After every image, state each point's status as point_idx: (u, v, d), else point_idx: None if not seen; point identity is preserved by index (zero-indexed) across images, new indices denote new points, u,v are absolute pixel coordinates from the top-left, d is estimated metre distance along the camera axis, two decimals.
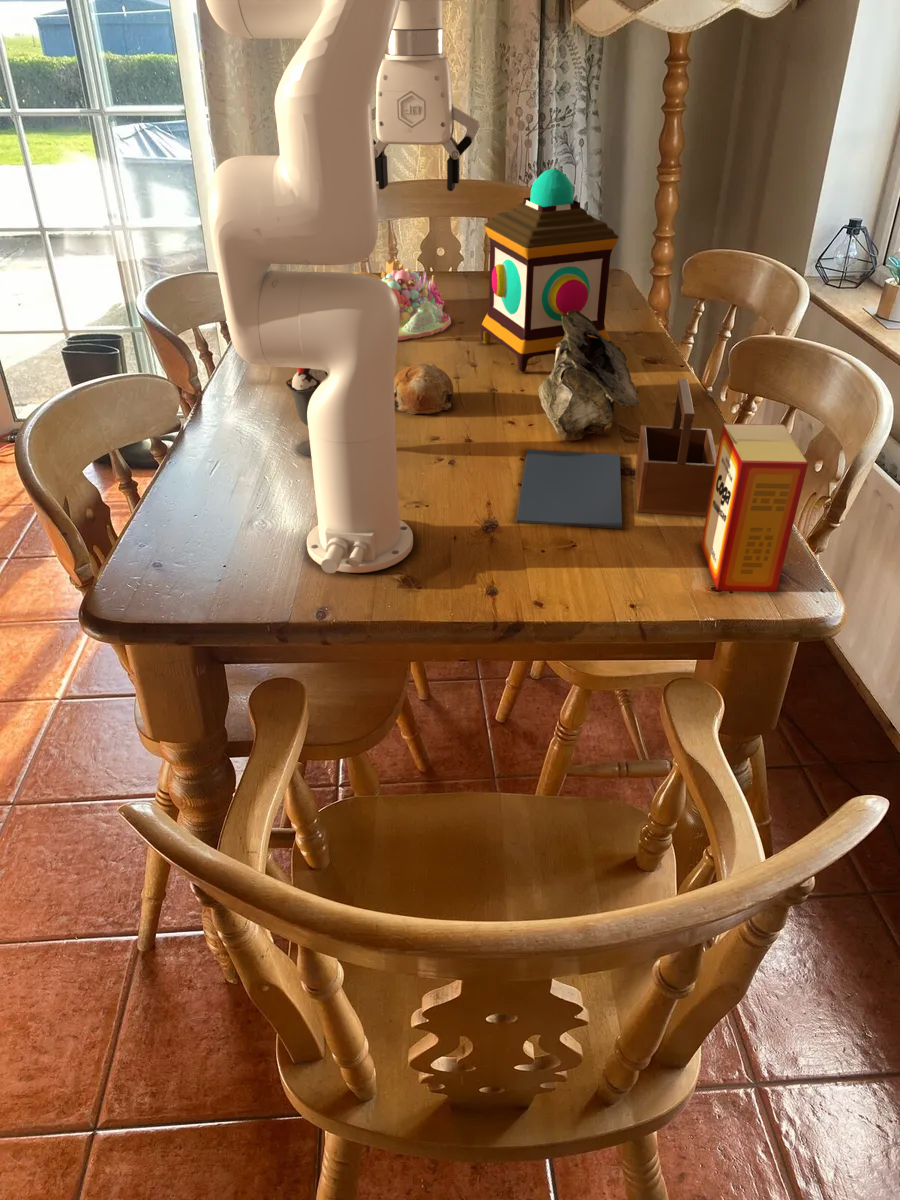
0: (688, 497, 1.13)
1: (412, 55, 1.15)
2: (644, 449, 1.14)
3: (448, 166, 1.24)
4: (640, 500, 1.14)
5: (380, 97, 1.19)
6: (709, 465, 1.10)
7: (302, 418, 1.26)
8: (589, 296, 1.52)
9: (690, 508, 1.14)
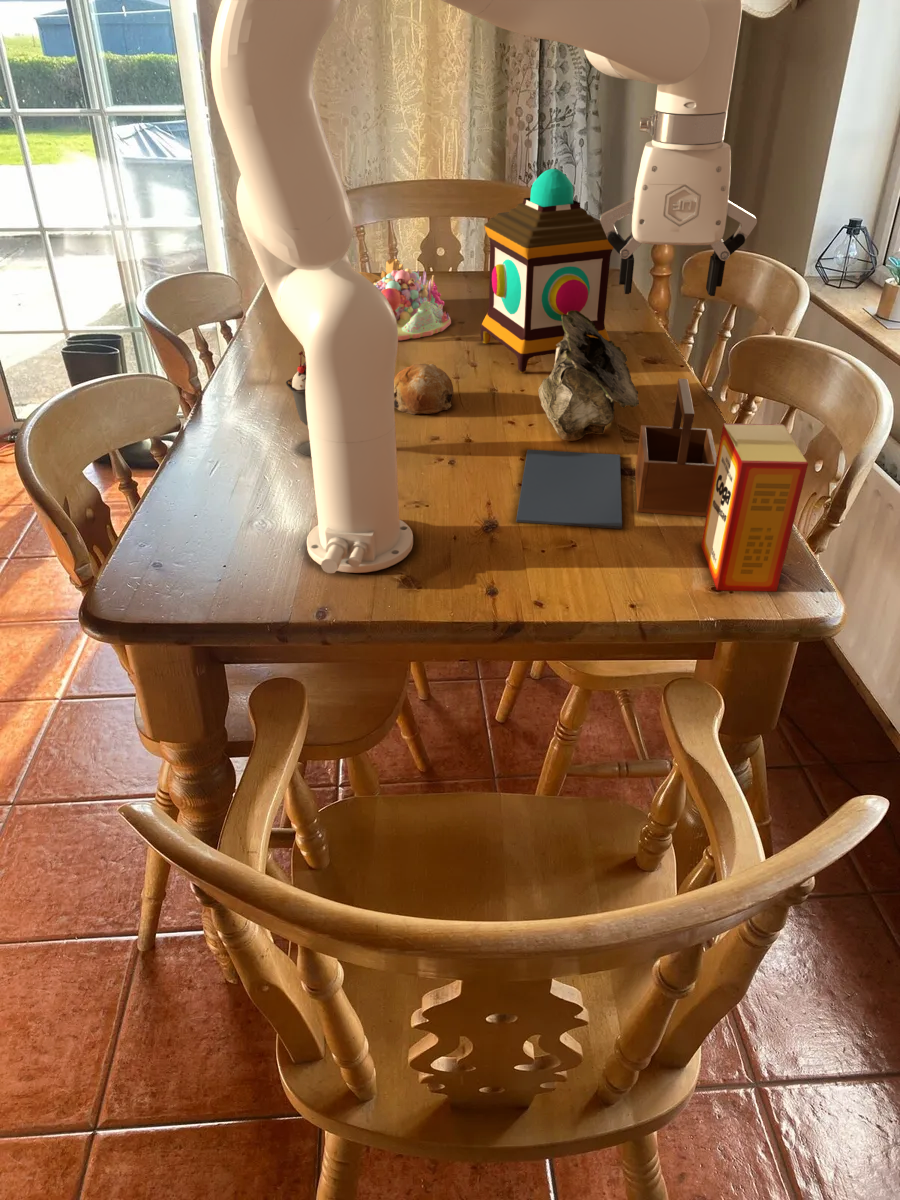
0: (688, 497, 1.13)
1: (695, 144, 0.95)
2: (644, 449, 1.14)
3: (714, 268, 1.03)
4: (640, 500, 1.14)
5: (644, 191, 0.99)
6: (709, 465, 1.10)
7: (302, 418, 1.26)
8: (589, 296, 1.52)
9: (690, 508, 1.14)
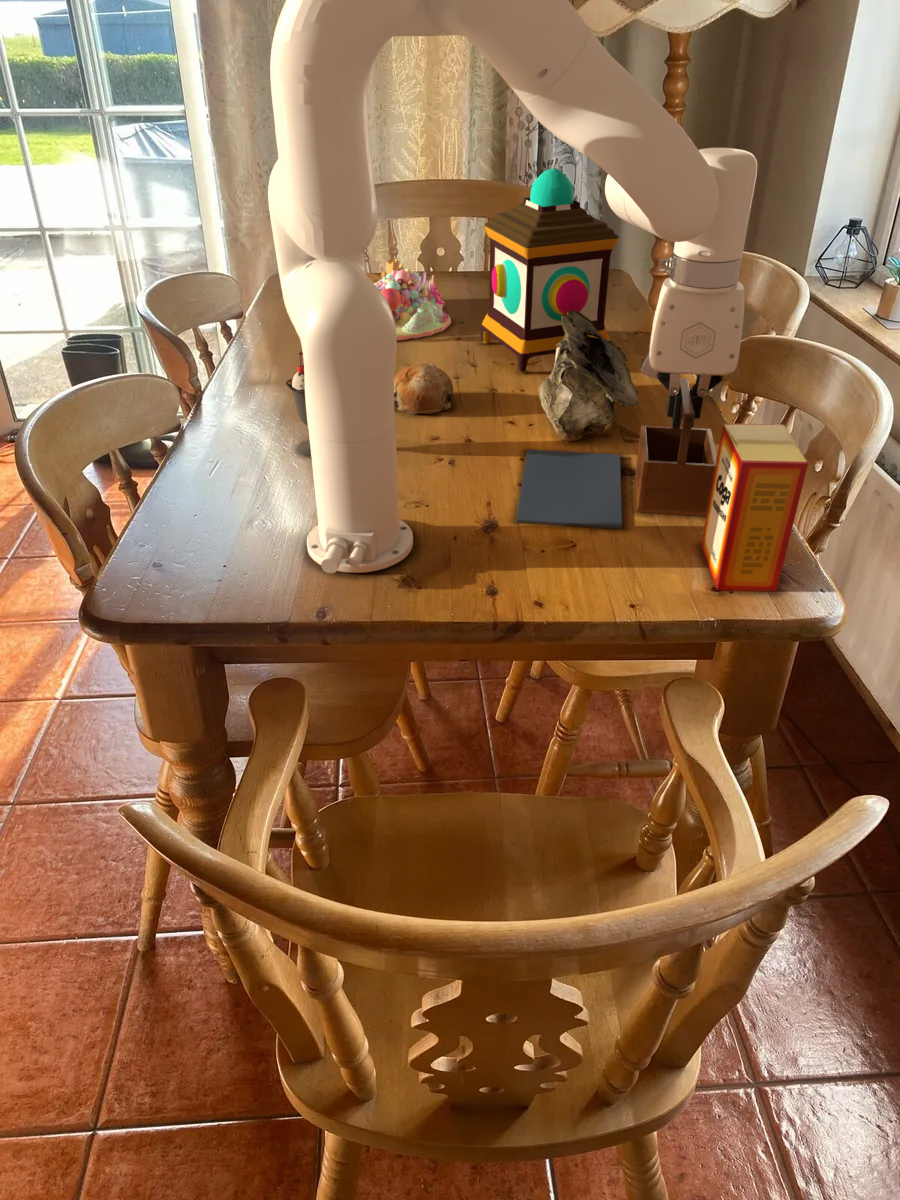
0: (688, 497, 1.13)
1: (710, 288, 1.00)
2: (644, 449, 1.14)
3: None
4: (640, 500, 1.14)
5: (661, 326, 1.04)
6: (709, 465, 1.10)
7: (302, 418, 1.26)
8: (589, 296, 1.52)
9: (690, 508, 1.14)
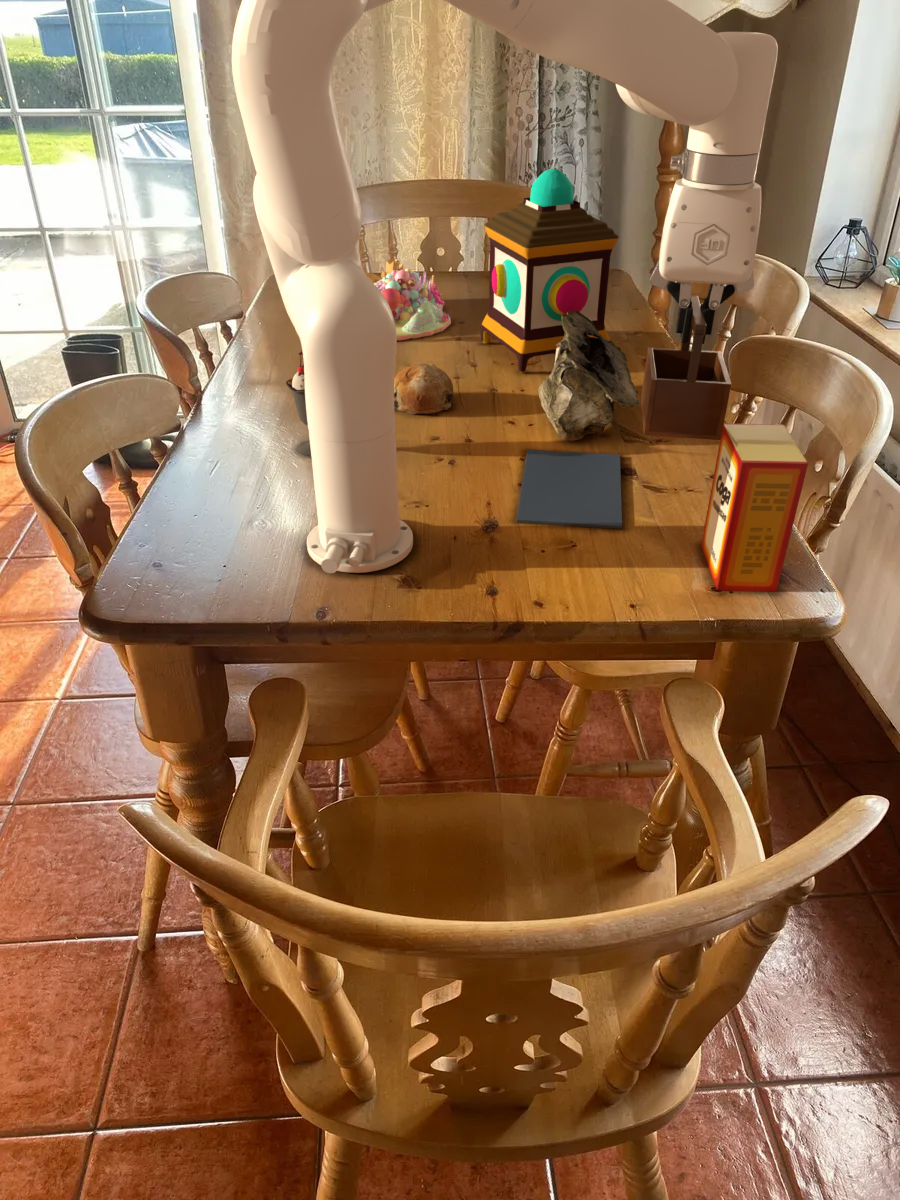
0: (698, 419, 1.07)
1: (726, 184, 0.94)
2: (652, 368, 1.08)
3: (704, 317, 1.04)
4: (647, 422, 1.08)
5: (673, 229, 0.98)
6: (721, 383, 1.04)
7: (302, 418, 1.26)
8: (589, 296, 1.52)
9: (700, 431, 1.07)
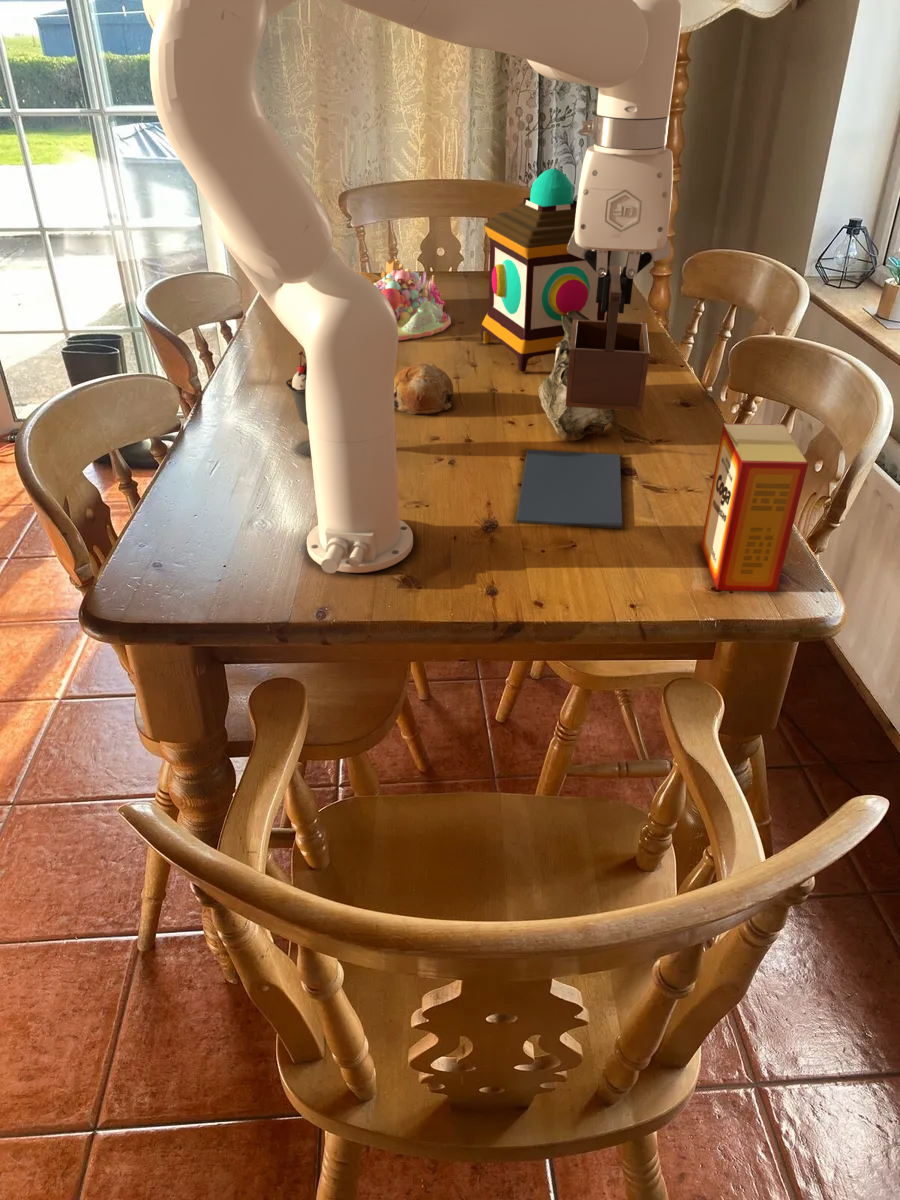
0: (618, 389, 1.06)
1: (634, 149, 0.93)
2: (572, 338, 1.07)
3: (622, 286, 1.03)
4: (567, 393, 1.07)
5: (585, 195, 0.97)
6: (639, 352, 1.03)
7: (302, 418, 1.26)
8: (589, 296, 1.52)
9: (620, 401, 1.07)
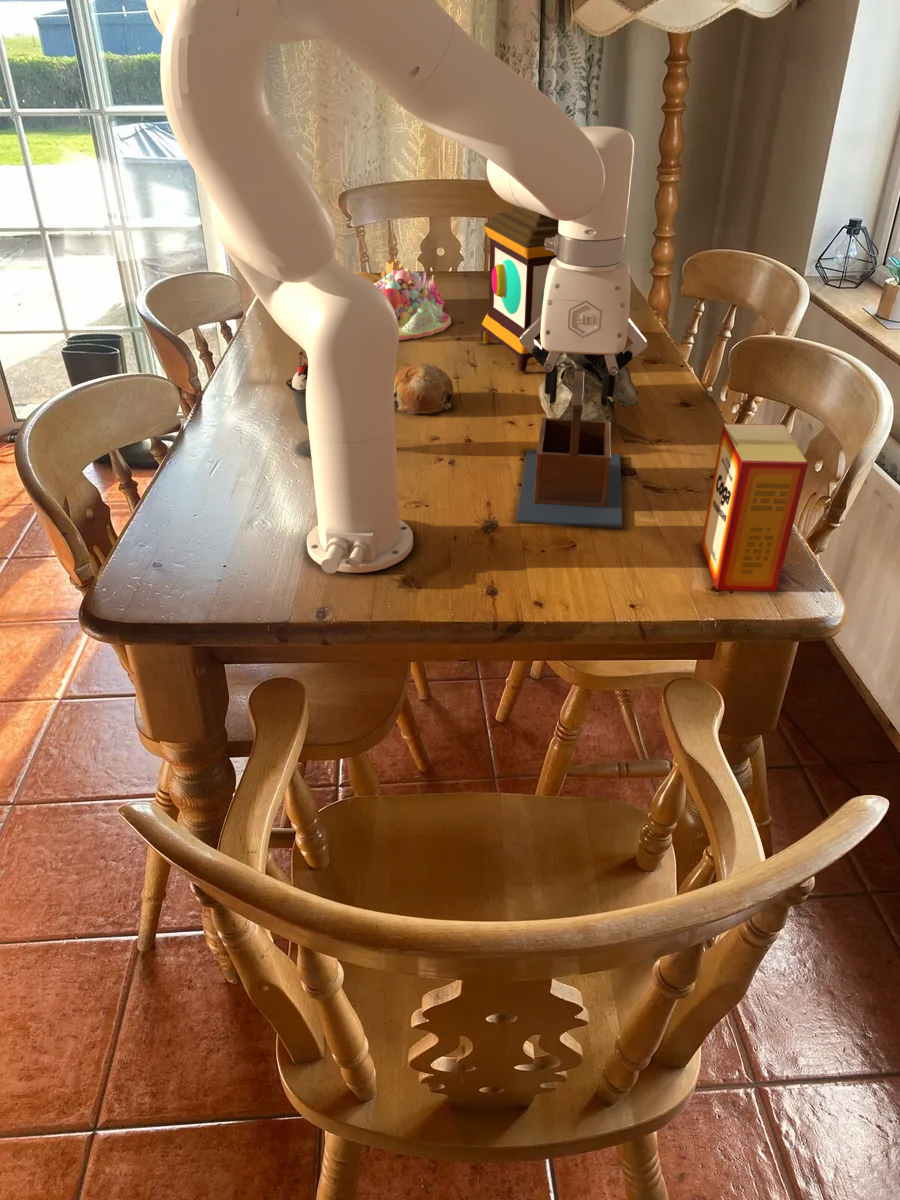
0: (582, 488, 1.14)
1: (593, 266, 1.00)
2: (540, 441, 1.15)
3: (604, 382, 1.10)
4: (536, 491, 1.15)
5: (549, 305, 1.05)
6: (601, 456, 1.11)
7: (302, 418, 1.26)
8: None
9: (585, 499, 1.15)
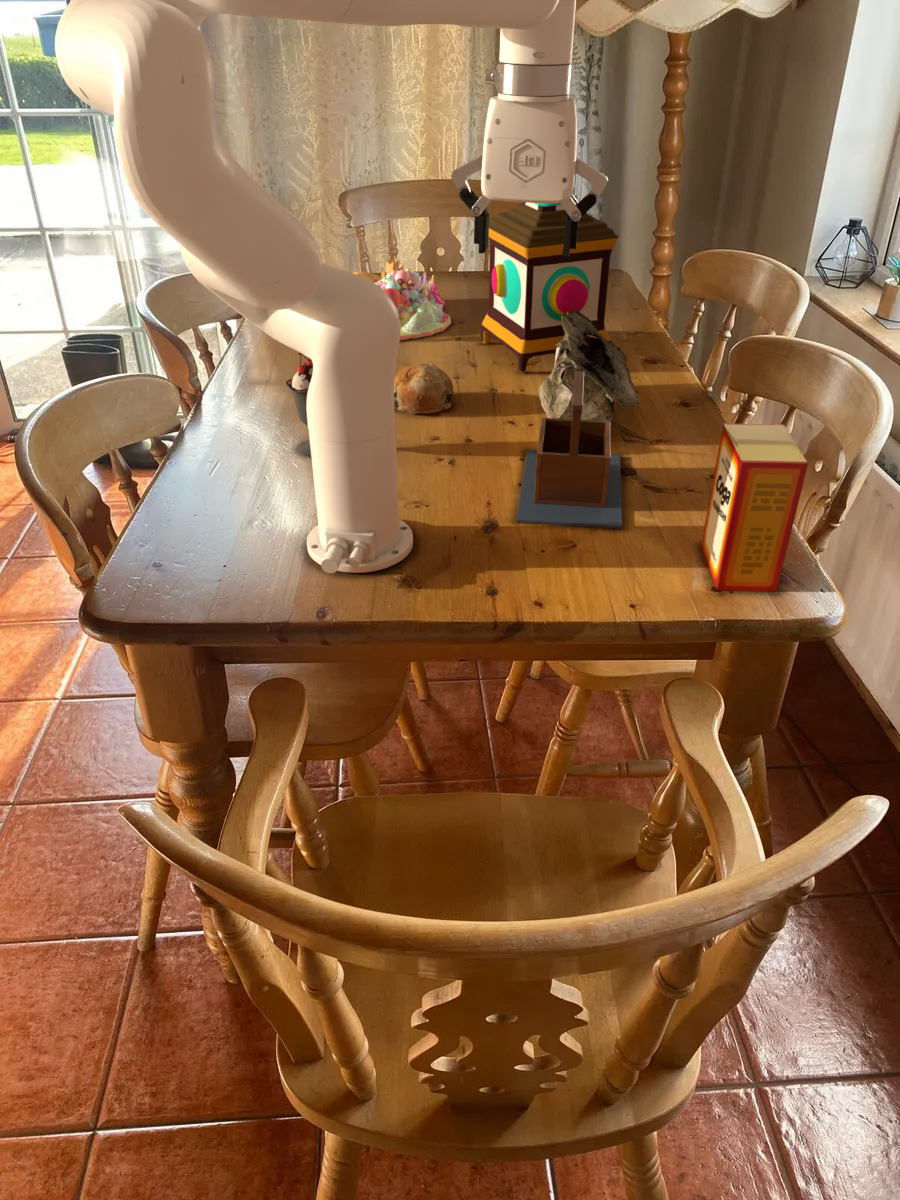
0: (582, 488, 1.14)
1: (534, 96, 0.93)
2: (540, 441, 1.15)
3: (566, 229, 1.01)
4: (536, 491, 1.15)
5: (489, 144, 0.97)
6: (601, 456, 1.11)
7: (302, 418, 1.26)
8: (589, 296, 1.52)
9: (585, 499, 1.15)
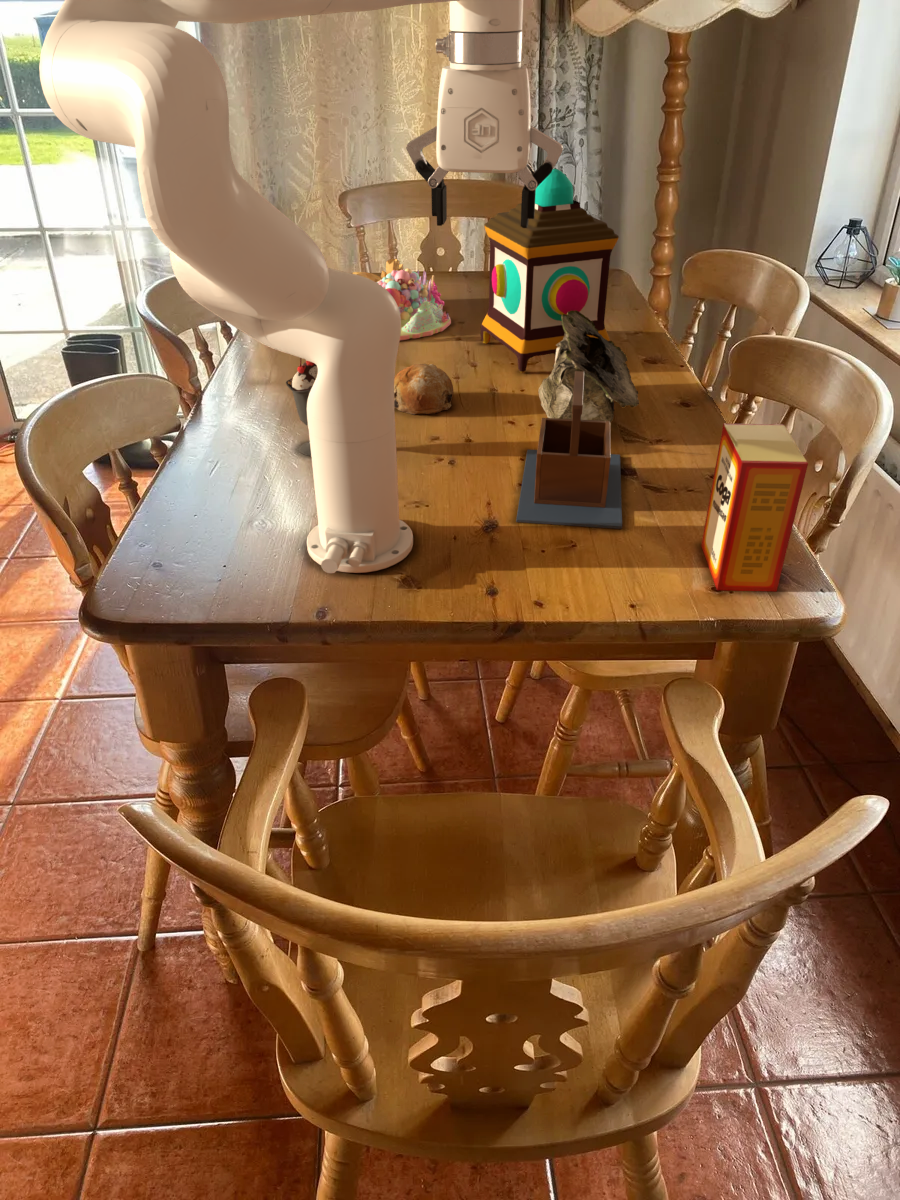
0: (582, 488, 1.14)
1: (485, 64, 0.93)
2: (540, 441, 1.15)
3: (523, 198, 1.01)
4: (536, 491, 1.15)
5: (442, 115, 0.97)
6: (601, 456, 1.11)
7: (302, 418, 1.26)
8: (589, 296, 1.52)
9: (585, 499, 1.15)
